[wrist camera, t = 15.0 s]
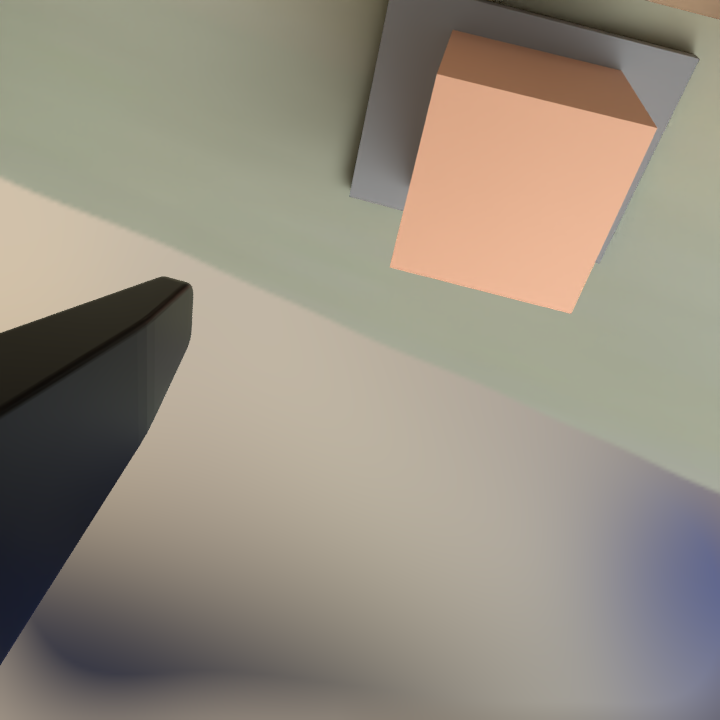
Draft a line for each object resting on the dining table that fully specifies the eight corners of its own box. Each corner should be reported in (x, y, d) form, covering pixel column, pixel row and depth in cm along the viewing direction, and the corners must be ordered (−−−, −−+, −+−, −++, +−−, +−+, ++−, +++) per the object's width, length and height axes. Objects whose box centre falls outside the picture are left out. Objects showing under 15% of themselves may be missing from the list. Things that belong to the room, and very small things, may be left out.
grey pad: (694, 54, 17) (699, 58, 16) (597, 256, 20) (599, 263, 20) (396, -23, 17) (393, -21, 17) (352, 190, 21) (349, 196, 20)
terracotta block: (621, 71, 17) (657, 128, 13) (557, 226, 20) (571, 313, 16) (452, 29, 17) (436, 73, 13) (413, 190, 20) (389, 267, 16)
